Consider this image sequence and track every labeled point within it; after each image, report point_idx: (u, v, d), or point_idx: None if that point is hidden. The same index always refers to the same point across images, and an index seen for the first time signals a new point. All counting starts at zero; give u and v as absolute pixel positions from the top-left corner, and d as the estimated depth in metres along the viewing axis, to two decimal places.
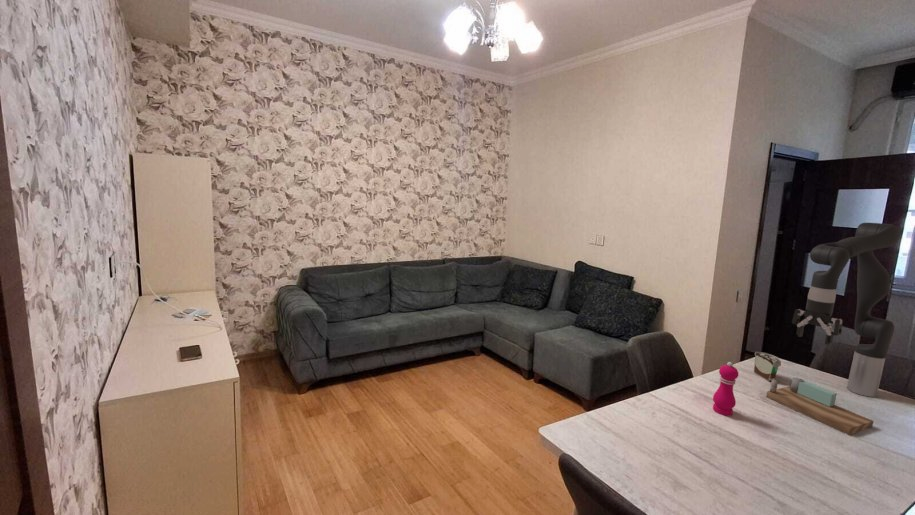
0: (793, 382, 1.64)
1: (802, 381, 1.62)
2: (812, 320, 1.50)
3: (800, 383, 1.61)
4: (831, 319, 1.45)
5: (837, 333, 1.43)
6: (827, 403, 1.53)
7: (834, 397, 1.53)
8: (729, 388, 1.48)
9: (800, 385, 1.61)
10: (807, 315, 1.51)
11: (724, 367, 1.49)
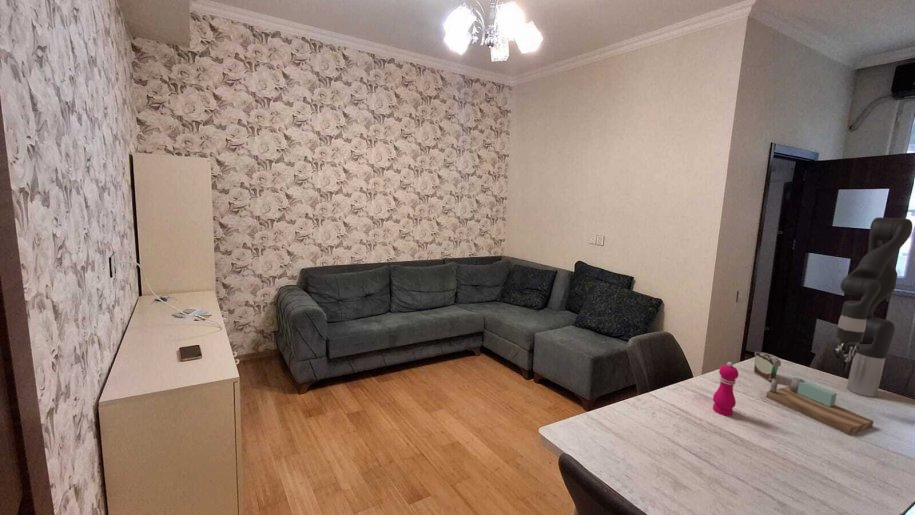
0: (793, 382, 1.64)
1: (802, 381, 1.62)
2: None
3: (800, 383, 1.61)
4: None
5: None
6: (827, 403, 1.53)
7: (834, 397, 1.53)
8: (729, 388, 1.48)
9: (800, 385, 1.61)
10: (846, 349, 1.54)
11: (724, 367, 1.49)
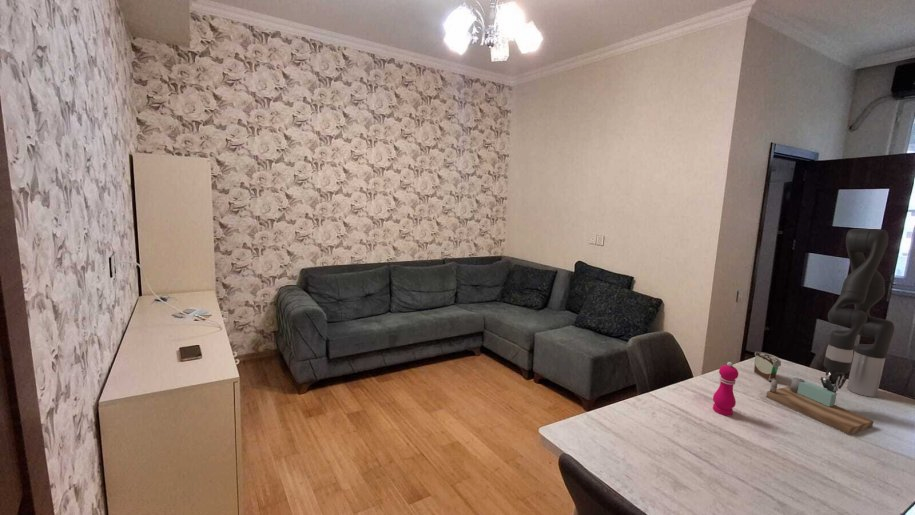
0: (793, 382, 1.64)
1: (802, 381, 1.62)
2: None
3: (800, 383, 1.61)
4: None
5: None
6: (827, 403, 1.53)
7: (834, 397, 1.53)
8: (729, 388, 1.48)
9: (800, 385, 1.61)
10: (833, 378, 1.54)
11: (724, 367, 1.49)
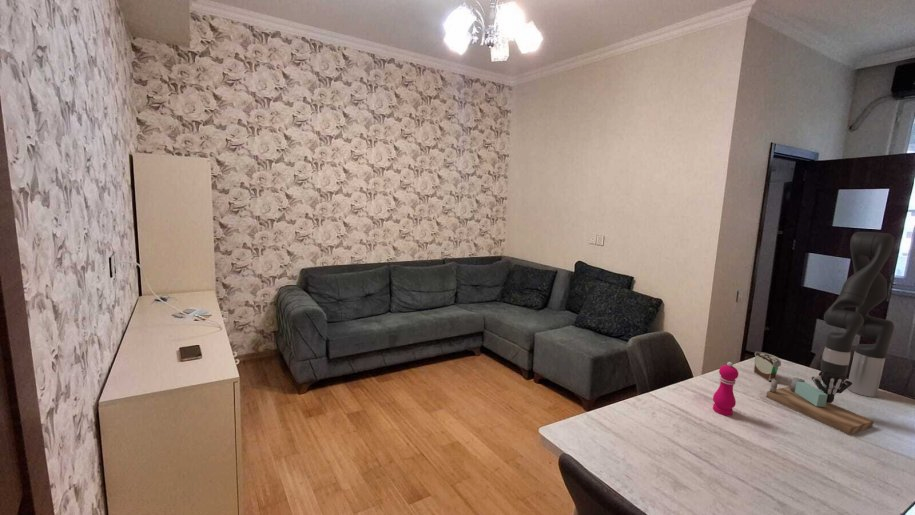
0: (792, 381, 1.64)
1: (801, 381, 1.62)
2: None
3: (797, 382, 1.62)
4: (845, 379, 1.52)
5: (841, 392, 1.52)
6: (815, 403, 1.53)
7: (824, 398, 1.52)
8: (729, 388, 1.48)
9: (797, 385, 1.62)
10: (826, 380, 1.52)
11: (724, 367, 1.49)
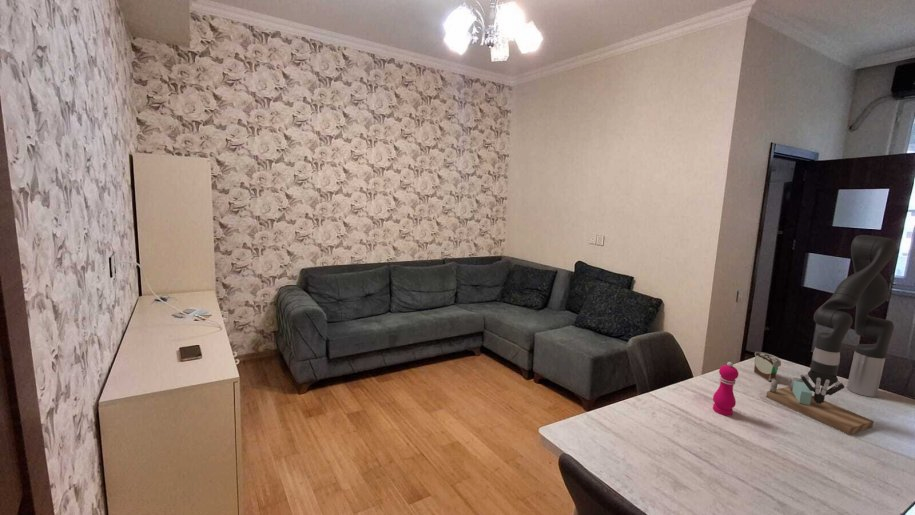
0: None
1: (799, 381, 1.62)
2: (821, 380, 1.52)
3: (794, 381, 1.63)
4: (836, 381, 1.49)
5: (831, 394, 1.50)
6: (799, 399, 1.55)
7: (807, 396, 1.53)
8: (729, 388, 1.48)
9: (794, 384, 1.63)
10: (813, 379, 1.53)
11: (724, 367, 1.49)
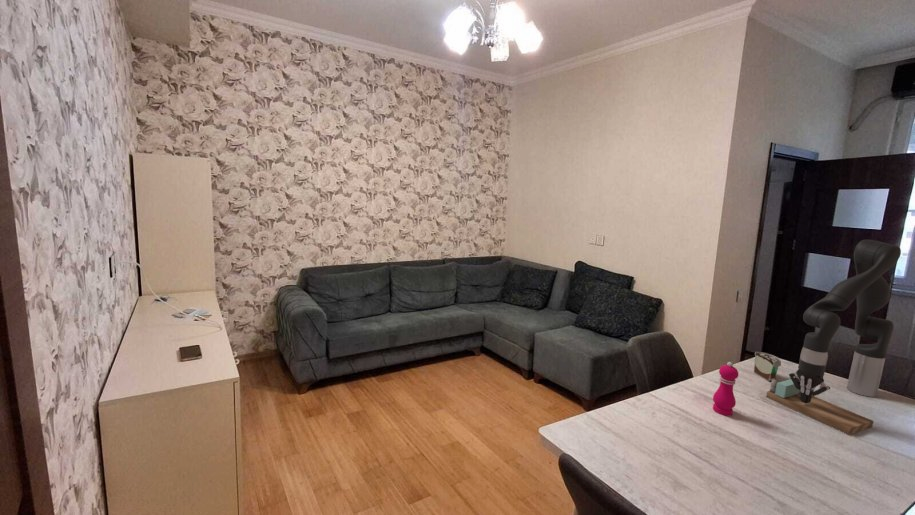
0: None
1: None
2: (806, 379, 1.52)
3: None
4: (821, 383, 1.48)
5: (814, 394, 1.50)
6: None
7: (782, 388, 1.58)
8: (729, 388, 1.48)
9: None
10: (800, 377, 1.54)
11: (724, 367, 1.49)
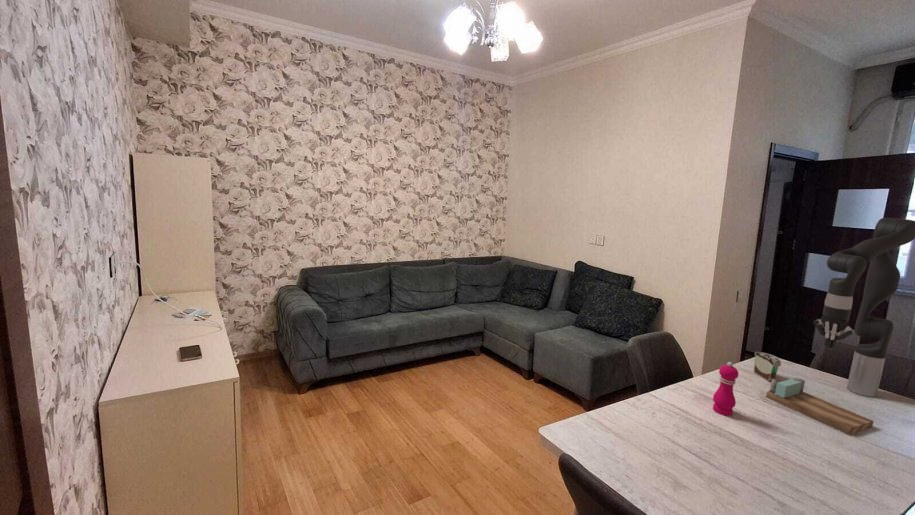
0: None
1: (796, 380, 1.63)
2: (831, 325, 1.54)
3: None
4: (846, 327, 1.50)
5: (839, 339, 1.52)
6: None
7: (782, 388, 1.58)
8: (729, 388, 1.48)
9: None
10: (824, 323, 1.56)
11: (724, 367, 1.49)
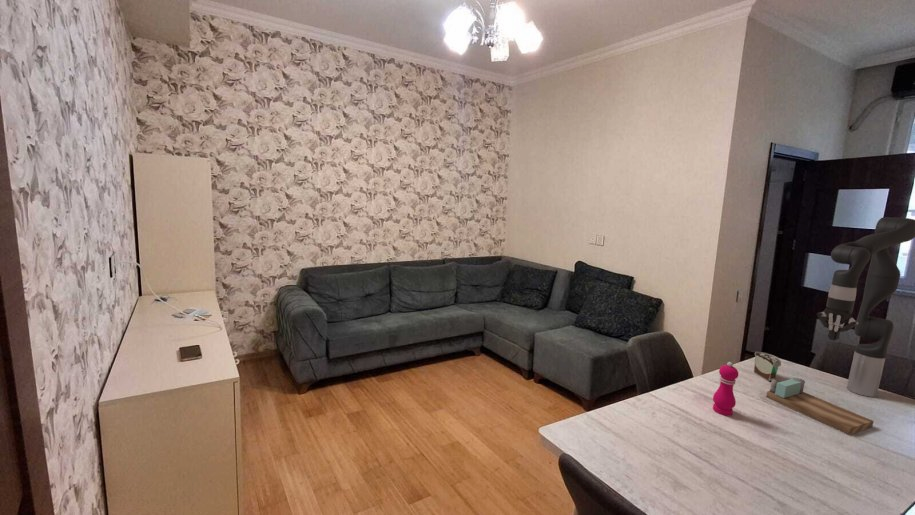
0: None
1: (796, 380, 1.63)
2: (835, 316, 1.55)
3: None
4: (850, 318, 1.51)
5: (843, 330, 1.52)
6: None
7: (782, 388, 1.58)
8: (729, 388, 1.48)
9: None
10: (828, 315, 1.57)
11: (724, 367, 1.49)
